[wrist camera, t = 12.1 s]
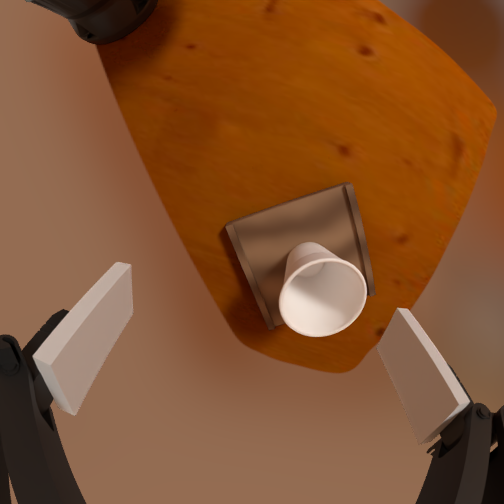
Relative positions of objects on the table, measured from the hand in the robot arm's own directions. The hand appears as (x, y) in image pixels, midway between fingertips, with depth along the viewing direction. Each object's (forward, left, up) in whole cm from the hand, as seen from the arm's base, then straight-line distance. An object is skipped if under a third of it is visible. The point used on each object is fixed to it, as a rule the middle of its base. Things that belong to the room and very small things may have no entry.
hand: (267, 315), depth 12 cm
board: (+10, +4, -27) cm, 29 cm away
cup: (+10, +3, -25) cm, 27 cm away
